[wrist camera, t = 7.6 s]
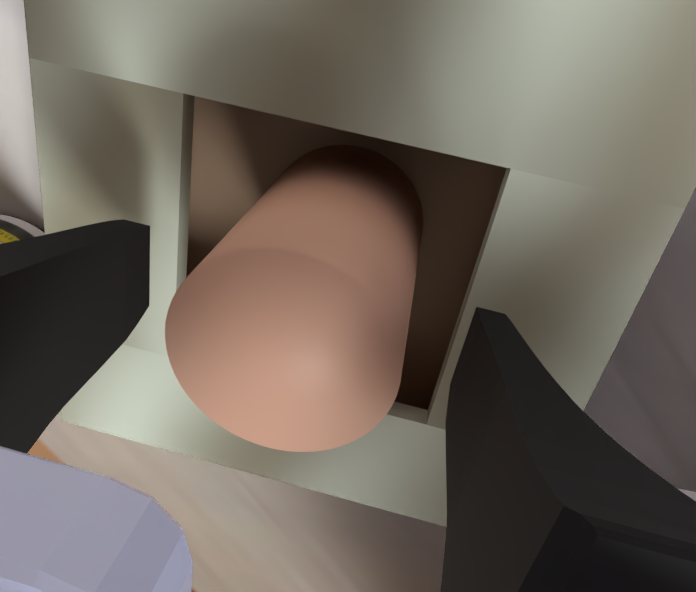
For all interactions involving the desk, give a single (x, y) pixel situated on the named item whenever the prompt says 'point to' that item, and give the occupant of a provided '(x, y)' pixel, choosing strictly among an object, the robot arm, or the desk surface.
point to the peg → (304, 305)
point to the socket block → (398, 146)
